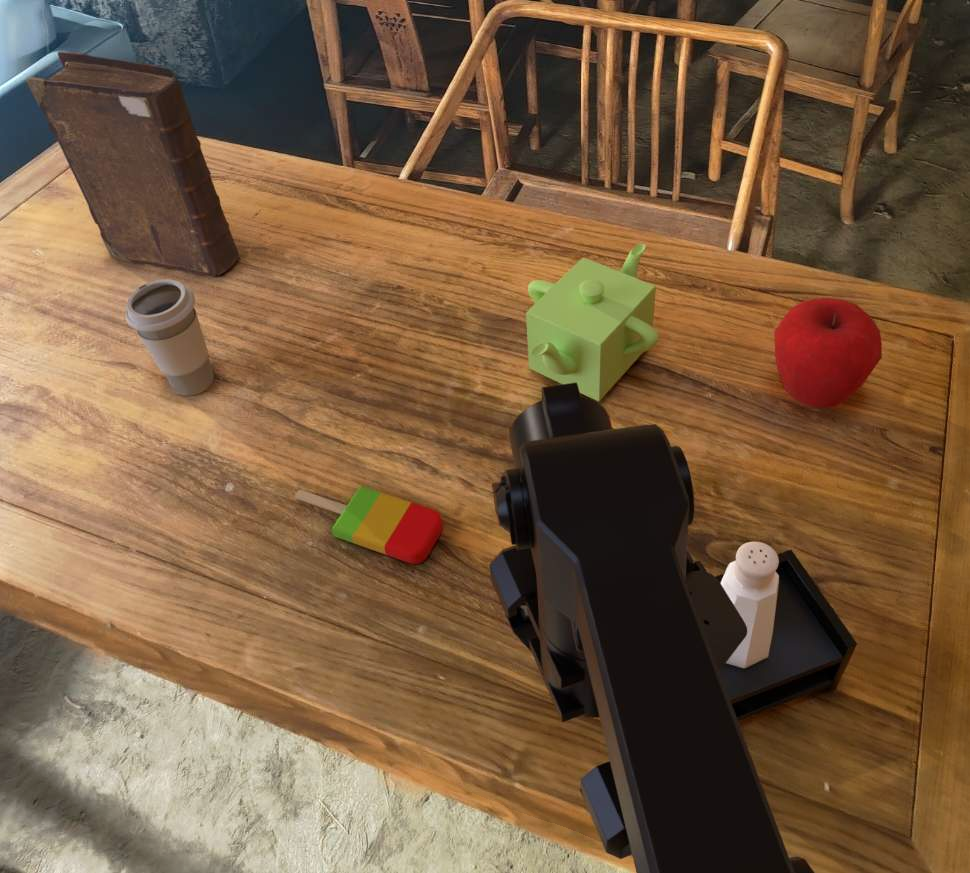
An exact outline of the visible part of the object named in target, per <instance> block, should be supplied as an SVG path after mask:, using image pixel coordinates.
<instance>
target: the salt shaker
mask: <svg viewBox="0 0 970 873" xmlns="http://www.w3.org/2000/svg"><path fill="white" fill-rule="evenodd" d="M777 554H778V553H777V552H776V550H775V549H774V548H773V547H772V546H770V545H768V544H767V543H765V542H761V541H749V542H746V543H743V544H741V545H740V547H739V548H738V549H737V551H736V554H735V560H734V561H731V562H729V563H728V565H727V567H726V569H725V572H724V573H725V574H724V573H723V574H724V576H723V579H722V581H721V585H722V587H723V588H724V590H725V591H726V593H727V595H728V596H729V598H730V600H731V601H732V603H733V604H734V606H735V608H736V609H737V611H738V612H739V614H740V616H741V617H742V619H743V621H744V622H745V624H746V626H747V635H746V637H745V638H744V640H743V641H742V642H741V644H740V645H739V646H738V647H737V649H736V650H735V651H734V653H733V654H732V655H731V657H730V658H729V659H728V661H727V662H726V663H727V664H730V665H734V666H737V667H741V668H744V669H745V668H747V667H749V666H751V665H753V664H755V663H757V662H759V661H761V660H763V659H765V658H767V657H768V655H769V650H770V645H771V639H772V634H773V626H774V618H775V610H776V601H777V593H778V584H779V575H778V574H777V573H776V572H775V571H776V569H777V568H778V564H779V559H778V555H777Z"/></svg>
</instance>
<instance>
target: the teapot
mask: <svg viewBox="0 0 970 873" xmlns="http://www.w3.org/2000/svg"><path fill="white" fill-rule="evenodd" d="M645 250H646V244H645V243H638V244H636V245H635V246H634V247H632V249H631V250H630V251H629V253H628V255H627V256H626V258H625V261H624V263H623V265H622V267H621V269H620V271H619V270H617V269H614V268H611V267H609V266H607V265H604V264H601V263H599V262H596V261H594V260H591V259H588V258H587V257H582V258H581V259H580V260H578V261H577V262H576V263H575V264H574V265H573V266H572V267H571V268H570V269H569V270H567V272H566V273H565V274H564V275H563V276H561V277H560V279H558V281H557V282H556V283H554V282H551V281H548V280H545V279H544V280H543V279H535V280H532V281H531V282H530V283H528V286H527V291H528V294H529V296H530V298H531V300H532V301H533V303H534V304H533V305H532V306H531V307H530V308H528V310H527V311H526V312H525V318H526V320H525V321H526V338H527V340H526V341H527V358H528V369H529V370H532V371H534V372H536V373H538V374H540V375H542V376H544V377H546V378H549V379H550V380H552V381H555V382H557V383H558V384H560V385H562V384H569V383H577V385H578V388H579V392H580V394H582V395H584V396H585V397H587V398H590V399H592V400H594V401H596V402H600V401H601V400H602V399H603V398H604V397H605V396H606V394H608V392H609V391H610V390H611V389H612V388H613V387H614V386H615V385H616V384H617V382H618V381H619V380H620V379H621V378H622V376H624V374H625V373H626V372H627V371H628V370H629V369H630V367H631V366H632V365H633V364H635V362H636V361H637V360H638V359H639V358H640V356H642V354H643V353H644V352H646V351H649V350H651V349H653V348H654V347H655V346H656V345H657V344H658V342H659V339H660V337H659V332H658V331H657V330H656V329H655V328H654V327H653V326H654V314H655V303H656V293H657V292H656V291H657V286H656V285H654V284H651V283H649V282H647V281H643V280H641V279H639V278H638V270H639V264H640V262H641V258H642V256H643V255H644V252H645Z"/></svg>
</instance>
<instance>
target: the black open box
mask: <svg viewBox="0 0 970 873" xmlns="http://www.w3.org/2000/svg"><path fill="white" fill-rule="evenodd" d="M777 555H778V559H779V564H778V568H777V569H776V571H775V572H776V573H777V574H778V575H779V584H778V593H777V601H776V610H775V618H774V626H773V634H772V639H771V645H770V650H769V655H768V657H767V658H765V659H763V660H761V661H759V662H757V663H755V664H753V665H751V666H749V667H747V668H745V669H744V668H741V667H737V666H734V665H730V664H727V663H725V665H724V666H723V667H722V668H721V669H720V670H719V672H720V675H721V678H722V680H723V683H724V686H725V688H726V691H727V694H728V696H729V699H730V702H731V704H732V707H733V710H734V712H735V715H736V718H737V720H738V723H739V722H742V721H743V720H746V719H749V718H751V717H755V716H757V715H759V714H762V713H765V712H767V711H770V710H772V709H774V708H778V707H780V706H782V705H785V704H788V703H790V702H793V701H795V700H797V699H798V700H799V699H800V698H803V697H805V696H808V695H811V694H813V693H816V692H818V691H822V690H825V691H826V693H831V692H834V691H836V690H837V688H838V686H839V684H840V682H841V680H842V677H843V675H844V673H845V671H846V669H847V667H848V664H849V663H850V660H851V658H852V656H853V655H854V652H855V650H856V648H857V646H858V642H857V641H856V639H855V638H854V636H853V635H852V634H851V632H850V631H849V630H848V628H847V627H846V626H845V624H844V622H843V621H842V620H841V618H840V617H839V615H838V614H837V612H836V611H835V609H834V608H833V607H832V605H831V604H830V603H829V601H828V600H827V598H826V597H825V595H824V594H823V593H822V591H821V590H820V588H819V587H818V585H817V584H816V583H815V581H814V580H813V578H812V577H811V576H810V574H809V572H808V571H807V570H806V568H805V567H804V565H803V564H802V562H801V561H800V560H799V558H798V557H797V556H796V554H795V552H794V551H793V550H792V549H788V550H785V551H783V552H780V553H777ZM724 574H725V572H724V573H721V574H719V575H714V576H715V577H716V578H717V579H718V580H719V582H720V583H721V581H722V579H723V576H724Z"/></svg>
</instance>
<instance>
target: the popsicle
mask: <svg viewBox="0 0 970 873" xmlns="http://www.w3.org/2000/svg"><path fill="white" fill-rule="evenodd" d="M294 498H295V499H296V500H298V501H301V502H304V503H307V504H309V505H312V506H316V507H319V508H322V509H323V510H324V509H325V510H327V511H330V512H333V513H336V514H338V515H339V517H338V518H337V520H336V521H335V523H334V524H333V526H332V527H331V533H332V535H333V537H335V538H338V539H340V540H343V541H346V542H349V543H352V544H353V545H354V544H355V545H357V546H360V547H363V548H366V549H367V550H368V549H369V550H372V551H374V552H377V553H380V554H382V555H385V556H389V557H390V558H393V559H397V560H400V561H403V562H404V563H405V562H406V563H408V564H413V565H414V564H415V565H416V564H417V565H418V564H421V563H423V562H424V561H425V560H426V559H427V557H428V556H429V555H430V554H431V552H432V550H433V548H434V546H435V544H436V543H437V541H438V540H439V537H440V536H441V534H442V531H443V529H444V522H443V518H442V515H441V514H440V513H439V512H438V511H437V510H435V509H432V508H430V507H427V506H425V505H421V504H418V503H415V502H412V501H409V500H405V499H404V498H399V497H397V496H394V495H390V494H387V493H386V492H385V493H384V492H381V491H379V490H375V489H373V488H371V487H370V488H369V487H366V486H363V485H361V486H359V487H358V488H357V490H356V491H355V493H354V494H353V496H352V497H351V499H350V501H349V502H348V504H343V503H341V502H339V501H336V500H332V499H329V498H326V497H323V496H321V495H317V494H316V493H315V494H314V493H311V492H308V491H306V490H301V489H299V490H297V491H296V492H295V494H294Z"/></svg>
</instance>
